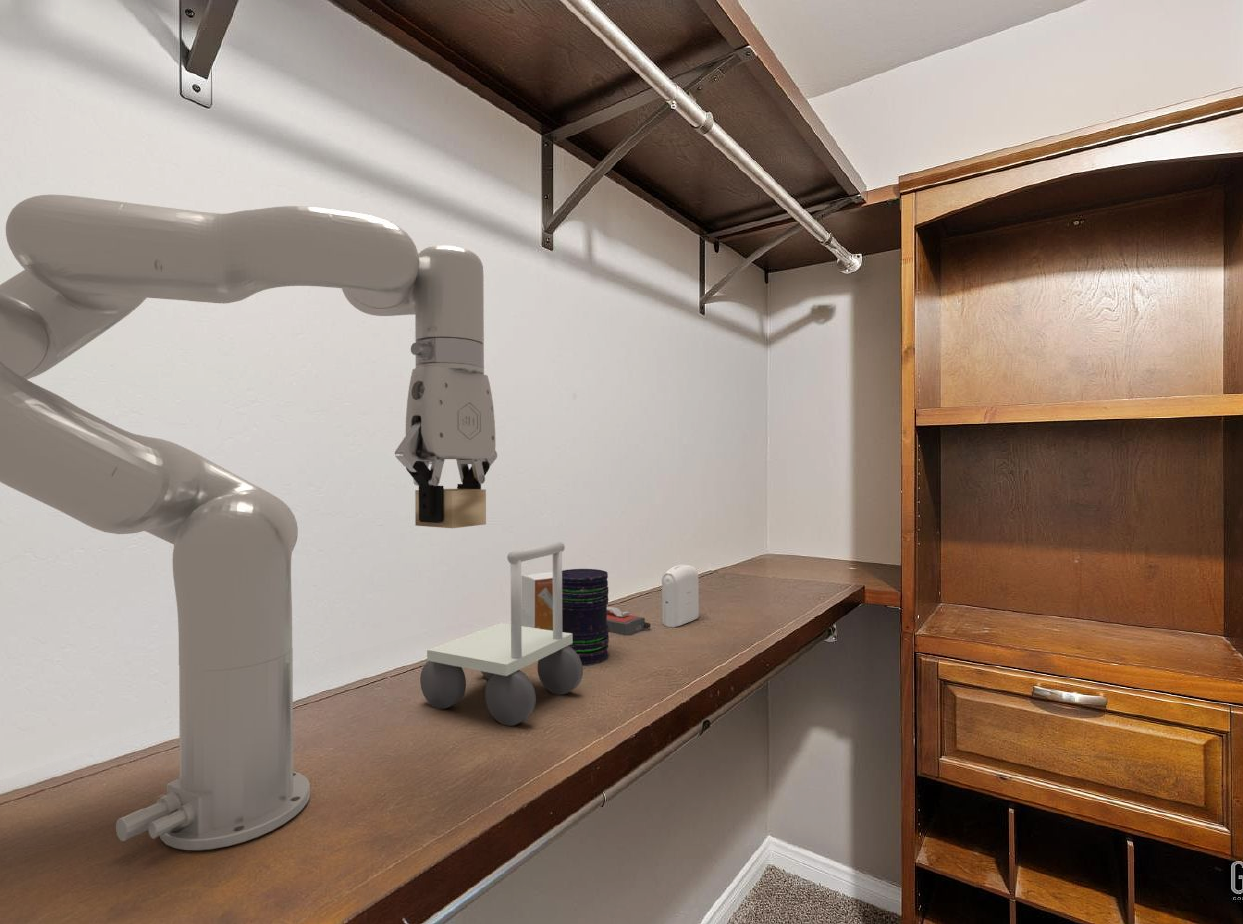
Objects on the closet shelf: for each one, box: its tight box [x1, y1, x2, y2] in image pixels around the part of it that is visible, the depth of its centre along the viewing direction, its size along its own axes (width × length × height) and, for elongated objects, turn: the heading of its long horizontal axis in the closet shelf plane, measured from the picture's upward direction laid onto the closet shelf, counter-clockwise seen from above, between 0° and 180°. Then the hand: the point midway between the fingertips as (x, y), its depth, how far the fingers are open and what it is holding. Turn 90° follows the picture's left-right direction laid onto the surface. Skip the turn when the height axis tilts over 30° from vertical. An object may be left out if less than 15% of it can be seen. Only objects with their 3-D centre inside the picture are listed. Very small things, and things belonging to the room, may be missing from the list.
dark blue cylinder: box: [562, 568, 610, 667], centre depth 108 cm, size 10×10×15 cm
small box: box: [521, 571, 553, 631], centre depth 118 cm, size 8×6×13 cm
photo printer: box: [661, 564, 700, 628], centre depth 132 cm, size 10×4×12 cm, turn 141°
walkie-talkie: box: [607, 605, 651, 636], centre depth 130 cm, size 9×4×20 cm
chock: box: [414, 488, 487, 529], centre depth 69 cm, size 5×6×4 cm
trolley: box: [419, 541, 584, 727], centre depth 89 cm, size 16×19×23 cm
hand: (450, 518), depth 69 cm, fingers closed on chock, 5 cm apart
